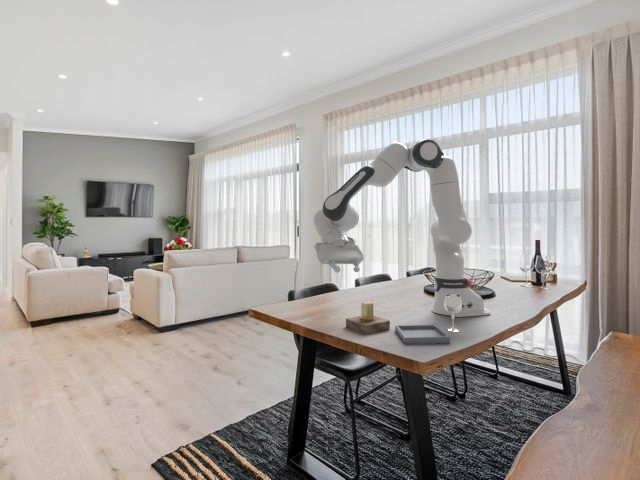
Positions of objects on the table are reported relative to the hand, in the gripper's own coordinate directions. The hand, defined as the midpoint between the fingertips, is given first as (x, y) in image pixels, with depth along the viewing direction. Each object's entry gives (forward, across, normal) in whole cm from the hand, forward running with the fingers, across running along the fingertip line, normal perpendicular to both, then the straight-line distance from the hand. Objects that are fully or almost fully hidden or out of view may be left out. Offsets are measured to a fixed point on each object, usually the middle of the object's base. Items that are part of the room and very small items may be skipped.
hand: (348, 271), depth 143 cm
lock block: (+22, 0, +4) cm, 22 cm away
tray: (+34, +8, -10) cm, 36 cm away
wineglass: (+34, +22, -11) cm, 42 cm away
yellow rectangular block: (+22, 0, +4) cm, 22 cm away
